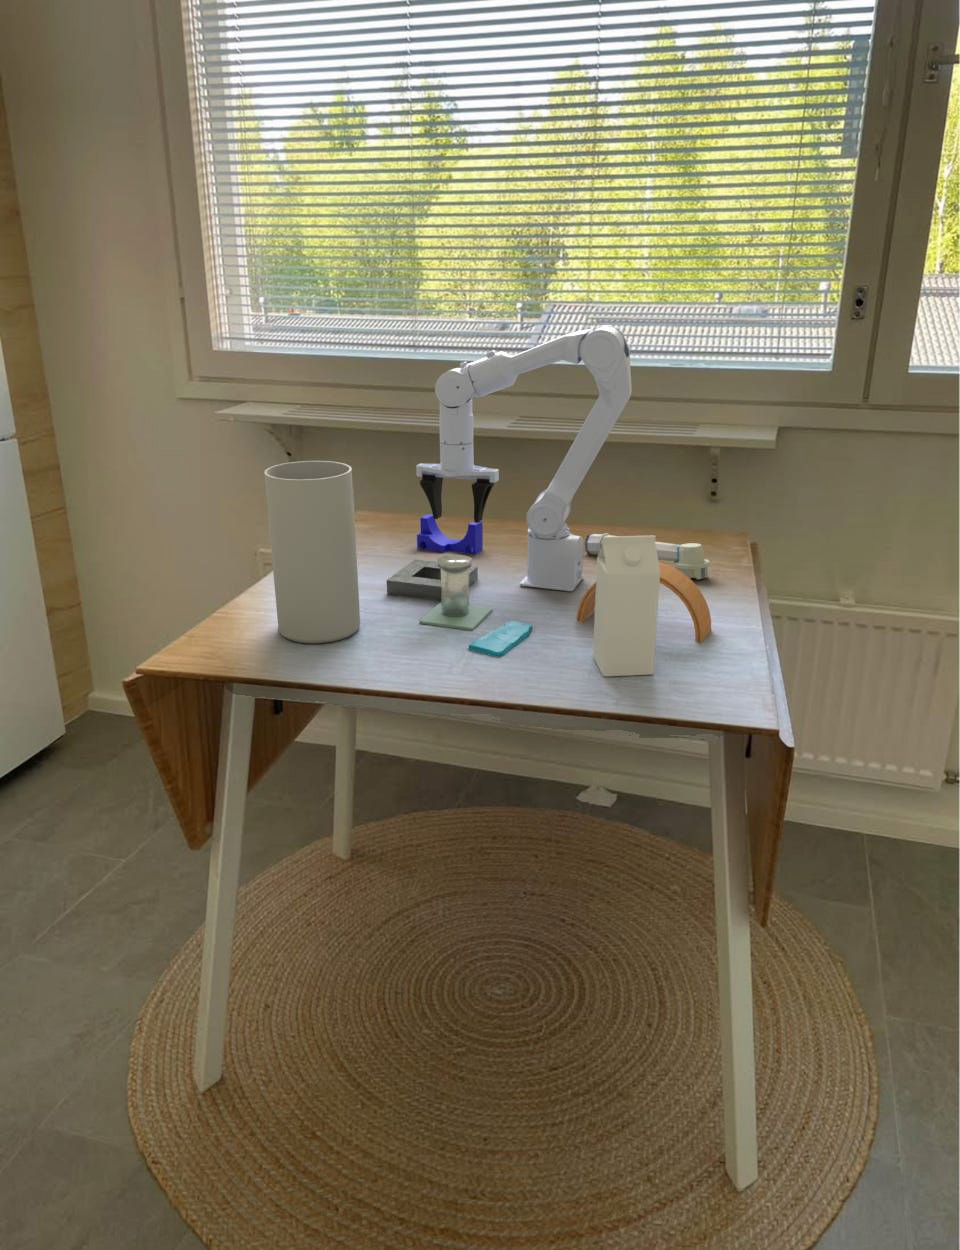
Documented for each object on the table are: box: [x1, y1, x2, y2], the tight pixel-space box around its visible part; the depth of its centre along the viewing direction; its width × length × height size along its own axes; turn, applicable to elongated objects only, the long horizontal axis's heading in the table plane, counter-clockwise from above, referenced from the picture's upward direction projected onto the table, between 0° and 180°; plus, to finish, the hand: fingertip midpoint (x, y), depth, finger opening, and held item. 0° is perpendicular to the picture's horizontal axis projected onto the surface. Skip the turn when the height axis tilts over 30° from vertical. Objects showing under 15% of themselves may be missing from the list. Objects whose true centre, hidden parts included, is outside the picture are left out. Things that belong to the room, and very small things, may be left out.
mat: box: [419, 601, 493, 631], centre depth 154 cm, size 9×9×1 cm
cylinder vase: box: [263, 460, 361, 645], centre depth 144 cm, size 12×12×25 cm
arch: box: [575, 561, 712, 644], centre depth 148 cm, size 6×20×10 cm, turn 62°
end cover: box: [436, 554, 473, 617], centre depth 153 cm, size 5×5×9 cm
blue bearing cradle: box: [416, 513, 484, 556], centre depth 186 cm, size 12×4×6 cm, turn 63°
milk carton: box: [592, 534, 661, 677], centre depth 132 cm, size 7×7×19 cm
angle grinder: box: [584, 532, 711, 580], centre depth 177 cm, size 5×7×25 cm
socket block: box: [385, 559, 479, 602], centre depth 167 cm, size 12×12×2 cm
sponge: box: [468, 620, 533, 658], centre depth 145 cm, size 2×12×6 cm
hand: (457, 519), depth 169 cm, fingers open, 7 cm apart
